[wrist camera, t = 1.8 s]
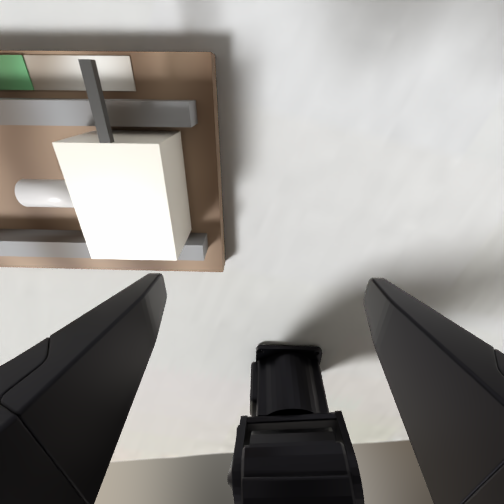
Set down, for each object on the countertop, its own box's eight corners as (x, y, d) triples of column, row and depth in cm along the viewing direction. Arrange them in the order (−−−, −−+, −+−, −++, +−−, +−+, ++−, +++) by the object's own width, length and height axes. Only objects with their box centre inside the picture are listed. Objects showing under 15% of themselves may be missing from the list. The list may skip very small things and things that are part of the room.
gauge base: (215, 54, 16) (189, 39, 10) (225, 261, 23) (213, 318, 17) (-195, 51, 16) (-431, 34, 11) (-59, 255, 24) (-158, 308, 18)
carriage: (172, 65, 15) (145, 59, 11) (191, 229, 20) (177, 260, 16) (4, 63, 15) (-73, 57, 11) (65, 227, 20) (24, 257, 16)
